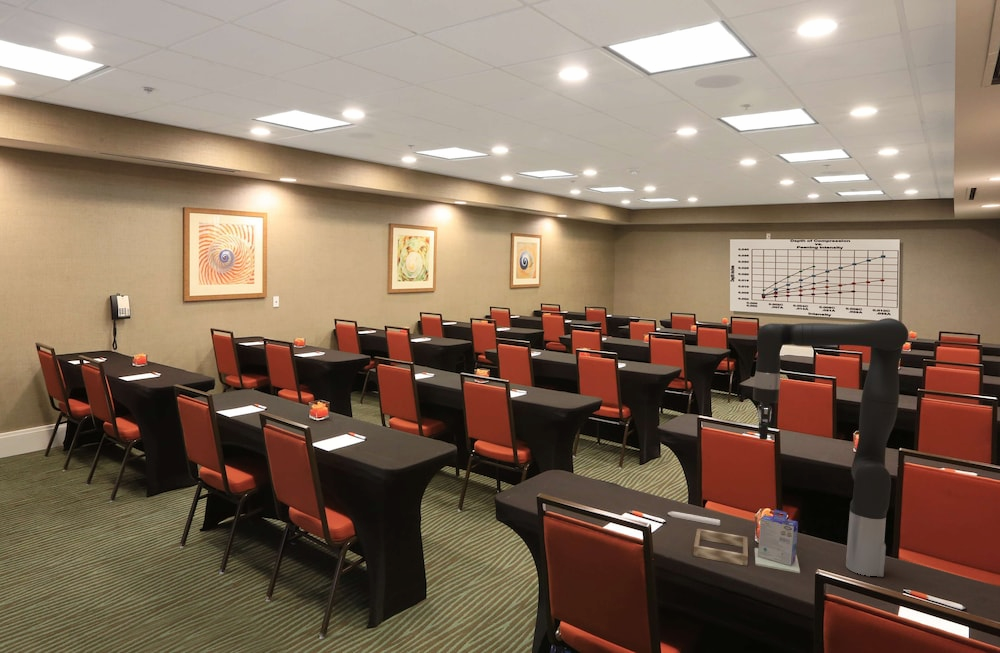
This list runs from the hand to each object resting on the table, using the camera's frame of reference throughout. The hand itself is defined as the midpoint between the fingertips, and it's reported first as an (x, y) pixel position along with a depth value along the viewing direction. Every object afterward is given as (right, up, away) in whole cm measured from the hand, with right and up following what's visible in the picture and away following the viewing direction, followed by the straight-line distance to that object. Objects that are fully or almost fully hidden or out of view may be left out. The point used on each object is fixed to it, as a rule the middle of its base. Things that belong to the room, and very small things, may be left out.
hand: (762, 436), depth 194 cm
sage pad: (0, -36, -9) cm, 37 cm away
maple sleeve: (-15, -36, -3) cm, 38 cm away
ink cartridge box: (+1, -36, -9) cm, 37 cm away
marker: (-15, -34, +22) cm, 44 cm away
